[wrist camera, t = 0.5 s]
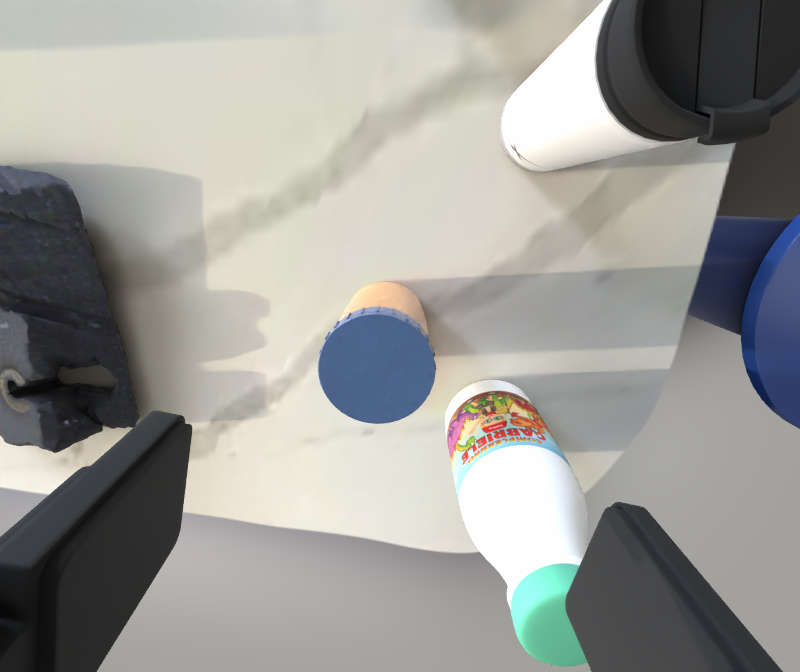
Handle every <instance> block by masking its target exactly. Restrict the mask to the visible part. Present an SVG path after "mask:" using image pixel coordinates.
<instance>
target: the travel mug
mask: <svg viewBox="0 0 800 672" xmlns="http://www.w3.org/2000/svg"><path fill="white" fill-rule="evenodd" d="M799 97H800V0H604V1H603V2H602V3H601V4H600V5H599V6H598V7H597V8H596V9H595V10H594V11H593V12H592V13H591V14H590V15H589V16H588V17H587V18H586V20H585V21H584V22H583V23H582V24H581V25H580V26H579V27H578V28H577V29H576V30H575V31H574V32H573V33H572V34H571V35H570V36H569V37H568V38H567V39H566V40H565V41H564V42H563V43H562V44H561V45H560V46H559V47H558V48H557V49H556V50H555V51H554V52H553V53H552V54H551V55H550V56H549V57H548V58H547V59H546V60H545V61H544V62H543V63H542V64H541V65H540V67H539V68H538V69H537V70H536V71H535V72H534V73H533V74H532V75H531V76H530V77H529V78H528V79H527V80H526V81H525V82H524V83H523V84H522V85H521V86H520V87H519V88H518V89H517V90H516V91H515V92H514V93H513V94H512V95H511V97H510V98H509V100H508V101H507V103H506V105H505V108H504V110H503V112H502V116H501V121H500V137H501V142H502V145H503V148H504V150H505V152H506V153H507V155H508V157H509V158H510V159H511V160H512V161H513V162H514V163H515V164H516V165H518V166H519V167H521V168H523V169H525V170H527V171H531V172H548V171H553V170H557V169H562V168H567V167H571V166H576V165H580V164H585V163H589V162H594V161H598V160H603V159H607V158H612V157H617V156H621V155H626V154H630V153H635V152H639V151H644V150H648V149H653V148H657V147H662V146H667V145H671V144H676V143H680V142H685V141H689V140H693V139H696V138H698V141H697V143H701V144H704V145H720V144H729V143H735V142H741V141H744V140H747V139H750V138H753V137H756V136H759V135H763V134H765V133H766V132H767V131H768V129H769V124H770V117H771V116H773V115H775V114H777V113H779V112H780V111H782V110H783V109H785V108H786V107H788V106H790V105H791V104H792V103H793V102H795V101H796V100H797V99H798V98H799ZM704 135H705V136H704Z"/></svg>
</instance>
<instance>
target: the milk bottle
mask: <svg viewBox="0 0 800 672" xmlns="http://www.w3.org/2000/svg"><path fill="white" fill-rule="evenodd" d="M445 428H446V436H447V441H448V447H449V453H450V459H451V464H452V470H453V475H454V481H455V486H456V491H457V496H458V500H459V504H460V509H461V513H462V517H463V519H464V522H465V525H466V528H467V530H468V532H469V534H470V536H471V538H472V540H473V542H474V543H475V545H476V546H477V548H478V549H479V551H480V552H481V553H482V554H483V555H484V557H485V558H486V559H487V560H488V561H489V562H490V563H491V564H492V565H493V566H494V567H495V568H496V569H497V570H498V571H499V572H500V574H501V575H502V577H503V578H504V580H505V581H506V583H507V584H508V590H507V600H508V603H509V606H510V608H511V615H512V619H513V623H514V627H515V630H516V634H517V636H518V639H519V641H520V643H521V644H522V646H523V648H524V649H525V650H526V651H527V652H528V653H529V654H530V655H531V656H532V657H534V658H535V659H537V660H539V661H541V662H544V663H547V664H550V665H556V666H575V665H580V664H584V663H587V660H586V657H585V655H584V653H583V650H582V648H581V646H580V643H579V641H578V639H577V637H576V634H575V632H574V630H573V627H572V625H571V623H570V620H569V618H568V616H567V613H566V608H565V600H566V595H567V593H568V591H569V588H570V586H571V584H572V582H573V579H574V577H575V575H576V573H577V570H578V568H579V566H580V564H581V561H582V559H583V557H584V555H585V552H586V550H587V543H586V542H587V530H588V516H587V508H586V503H585V499H584V495H583V492H582V489H581V487H580V484H579V482H578V479H577V477H576V476H575V474H574V472H573V470H572V468H571V466H570V464H569V463H568V461H567V459H566V457H565V456H564V454H563V452H562V451H561V449H560V447H559V446H558V444H557V442H556V441H555V439H554V437H553V436H552V434H551V433H550V431H549V429H548V428H547V426H546V425H545V423H544V421H543V420H542V418H541V417H540V415H539V413H538V412H537V410H536V409H535V407H534V405H533V404H532V402H531V401H530V400H529V398H528V397H527V395H526V394H525V393H524V392H523V391H522V390H521V389H519V388H518V387H516V386H515V385H513V384H510V383H508V382H505V381H500V380H483V381H479V382H475V383H473V384H471V385H469V386H467V387H465V388H464V389H462V390H461V391H460V392H459V393H458V394H457V395H456V396H455V397H454V398H453V400H452V401H451V403H450V404H449V406H448V409H447V412H446V416H445Z"/></svg>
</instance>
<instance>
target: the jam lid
mask: <svg viewBox="0 0 800 672" xmlns="http://www.w3.org/2000/svg"><path fill="white" fill-rule="evenodd" d="M325 340H326V341H325V343H324V345H323V347H322V349H321V350H320V355H319V361H318V374H319V379H320V383H321V386H322V388H323V391H324V393H325V394H326V396H327V398H328V399H329V400H330V402H331V403H332V404H333V405H334V406H335V407H336V408H337V409H338V410H340V411H341V412H342V413H344V414H346V415H347V416H349V417H351V418H353V419H356V420H359V421H362V422H367V423H375V424H379V423H389V422H394V421H397V420H400V419H402V418H405V417H406V416H408V415H410V414H411V413H413V412H414V411H415V410H417V409H418V408H419V407H420V406H421V405H422V404H423V403H424V401H425V400H426V399H427V397H428V395H429V394H430V391H431V389H432V387H433V383H434V379H435V370H436V365H435V361H434V356H435V353H434V348H433V347H432V346H431V343H430V340H429V335H428V334H426V333H425V331H424V329H423V328H422V327H421V326H420V323H417V322H416V321H415V320H414V319H413V318H411V317H410V316H409V314H405V313H403V312H401V311H398V310H395V308H393V309H392V308H387V307H380V305H378V307H368V308H365V307H363V308H362V309H360V310H357V311H354V312H352V313H351V312H349V314H348V315H347V316H345V317H344V318H343V319H342V320H340V321H337V323H336V325H335V326H334V328H333V329H332V331H331V332H329V333H328V335H327V336H326V338H325Z"/></svg>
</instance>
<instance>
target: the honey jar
mask: <svg viewBox="0 0 800 672" xmlns="http://www.w3.org/2000/svg"><path fill="white" fill-rule="evenodd" d="M378 305H380V307H387V308H392V309H393V308H395V310H398V311H401V312H403V313H405V314H409V316H410V317H411V318H413V319H414V320H415V321H416V322H417V323H420V326H421V327H422V328H423V329H424V331H425V333H426V334H428V329H427V323H426V317H425V312H424V309H423V306H422V304H421V302H420V300H419V299H418V297H417V296H416V295H415V294H414V293H413V292H412V291H411V290H409V289H408V288H406V287H405V286H403V285H400V284H398V283H394V282H386V281H384V282H376V283H372V284H369V285H367V286H365V287H363V288H362V289H360V290H359V291H358V292H357V293H356V294H355V295H354V296H353V297H352V299H351V300H350V302H349V304H348V305H347V307H346V309H345V311H344V312H343V314H342V316H341V318H340V319H339V321H340V320H342V319H343V318H344V317H345V316H347V315H348V314H349V312H351V313H352V312H354V311H357V310H360V309H362V308H363V307H365V308H368V307H378Z"/></svg>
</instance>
